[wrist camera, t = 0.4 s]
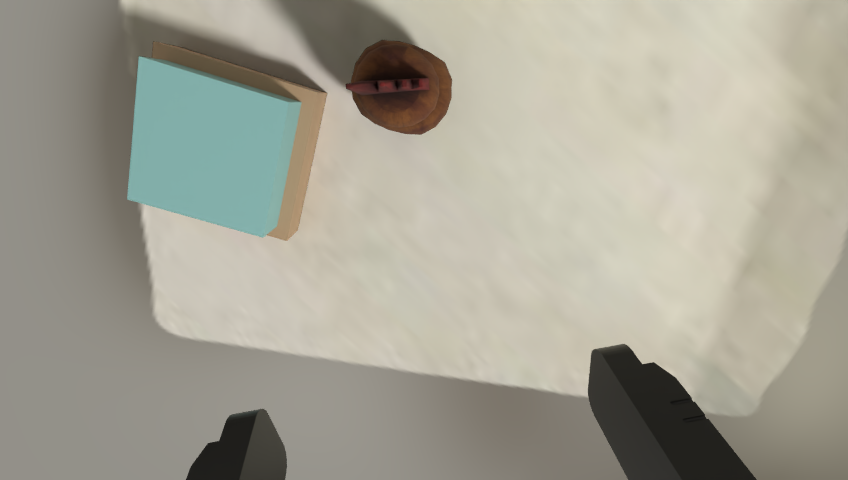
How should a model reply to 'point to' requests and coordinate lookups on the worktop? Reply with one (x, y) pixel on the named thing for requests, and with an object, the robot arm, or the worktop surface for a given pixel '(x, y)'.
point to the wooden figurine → (401, 87)
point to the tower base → (222, 142)
